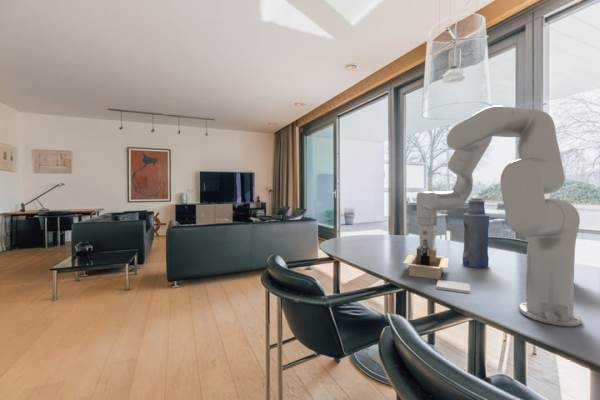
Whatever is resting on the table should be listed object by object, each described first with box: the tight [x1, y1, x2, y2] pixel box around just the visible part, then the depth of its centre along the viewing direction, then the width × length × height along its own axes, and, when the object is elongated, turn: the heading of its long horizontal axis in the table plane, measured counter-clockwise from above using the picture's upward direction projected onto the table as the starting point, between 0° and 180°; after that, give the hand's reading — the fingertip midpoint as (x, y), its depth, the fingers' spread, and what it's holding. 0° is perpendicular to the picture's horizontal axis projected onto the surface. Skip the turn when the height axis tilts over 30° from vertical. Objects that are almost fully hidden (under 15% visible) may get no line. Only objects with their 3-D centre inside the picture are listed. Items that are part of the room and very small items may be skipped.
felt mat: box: [435, 279, 471, 294], centre depth 99 cm, size 8×10×1 cm
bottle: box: [462, 197, 490, 269], centre depth 124 cm, size 10×10×30 cm
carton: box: [402, 253, 450, 280], centre depth 117 cm, size 20×16×5 cm
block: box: [416, 245, 437, 267], centre depth 116 cm, size 5×7×10 cm
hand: (426, 262), depth 117 cm, fingers open, 9 cm apart
